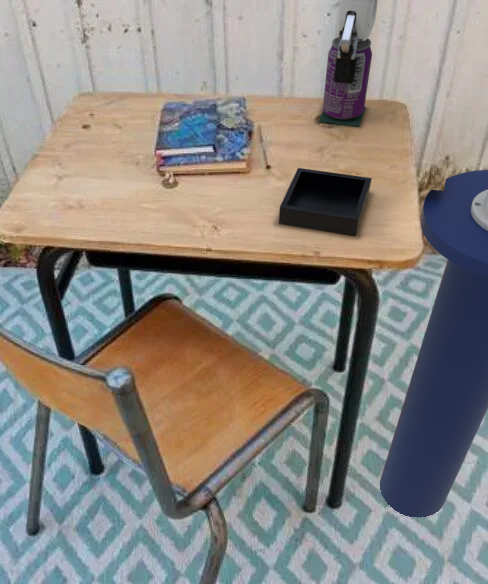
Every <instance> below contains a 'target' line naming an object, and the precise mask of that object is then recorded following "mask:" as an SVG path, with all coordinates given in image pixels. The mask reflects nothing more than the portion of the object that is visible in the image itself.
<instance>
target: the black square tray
mask: <svg viewBox="0 0 488 584" xmlns="http://www.w3.org/2000/svg"><path fill="white" fill-rule="evenodd" d="M372 178H373V177H368V176H360V175H353V174H346V173H339V172H333V171H332V172H331V171H324V170H316V169H310V168H303V167H298V168H297V169H296V171H295V174H293V177H292V180H291V182H290V184H289V186H288V189H287V191H286V192H285V194H284V197H283V199H282V201H281V203H280V206H279V213H278V224H279V225H284V226H290V227H296V228H302V229H309V230H315V231H321V232H327V233H331V234H339V235H344V236H351V237H356V236H357V233H358V231H359V228H360V225H361V221H362V218H363V215H364V212H365V208H366V205H367V202H368V199H369V196H370V191H371V186H372V185H371V184H372V180H373V179H372Z"/></svg>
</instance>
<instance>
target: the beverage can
mask: <svg viewBox="0 0 488 584" xmlns="http://www.w3.org/2000/svg"><path fill="white" fill-rule="evenodd" d="M352 37H356V35H352ZM339 44H340V39H339V38H338V37H337V36H336V37H335V38H333V39H332V41H331V46H330V48H329V50H328V53H327V61H326V62H327V64H326V73H325V82H324V92H323V99H322V100H323V101H322V102H323V103H322V112H323V111H324V112H325V113H326V114H327V115H329V116H331V117H333V118H336V119H342V120H345V119H351V118H354V117H357V116H359V115H361V114H362V113H363V111H364V107H366V105H365V104H366V98H367V92H368V86H369V79H370V73H371V67H372V66H371V65H372V58H373V52H372V48H371V45H372V41H371V39H370V38H368V39H366V40H365V41H363V39H359V41H358V46H357V51H356V58H357V63H356V70H355V77H354V82H353V83H352V84H348V83H338V82H335V81H334V75H335V66H336V58H337V55H338V49H339ZM350 45H352V47H353V45H354V42H351V44H350Z"/></svg>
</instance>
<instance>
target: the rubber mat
mask: <svg viewBox="0 0 488 584" xmlns="http://www.w3.org/2000/svg"><path fill="white" fill-rule="evenodd" d="M366 110H367V106H364V111H363V113H362V114H361V115H359V116H357V117H354V118H351V119H345V120H342V119H336V118H333V117H331V116H329V115H327V114H326V113H325V112H324V111H323V110H322V112H321V115H320V117H319V119H318V123H324V124H330V125H339V126H347V127H348V126H349V127H356V128H359V127H360V125H361V122H362V121H363V117H364V114H365V112H366Z"/></svg>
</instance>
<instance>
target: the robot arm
mask: <svg viewBox="0 0 488 584" xmlns="http://www.w3.org/2000/svg"><path fill="white" fill-rule="evenodd" d="M378 3H379V0H339V3H338V11H337V20H336V21H337V22H336V37H338V38H339V39H340V44H339V49H338V55H337V58H336V66H335V75H334V81H335V82H338V83H348V84H352V83H353V82H354V77H355V70H356V63H357V58H356V51H357V46H358V41H359V39H363V41H365V40H366V39H369V38H370V34H371V33H372V31H373V28H374V25H375V23H376V19H377V10H378ZM352 35H356V37H352ZM351 42H354V45H353V47H352V45H350V44H351ZM471 215H472V217H473V219H474V220H475V221H476V222H477V224H478V225H480V226H481V227H482V228H483V229H485V230H487V231H488V190H486V191H483V192H481V193H480V194H478V195H477V196H476V197H475V198H474V200H473V202H472V205H471Z"/></svg>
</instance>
